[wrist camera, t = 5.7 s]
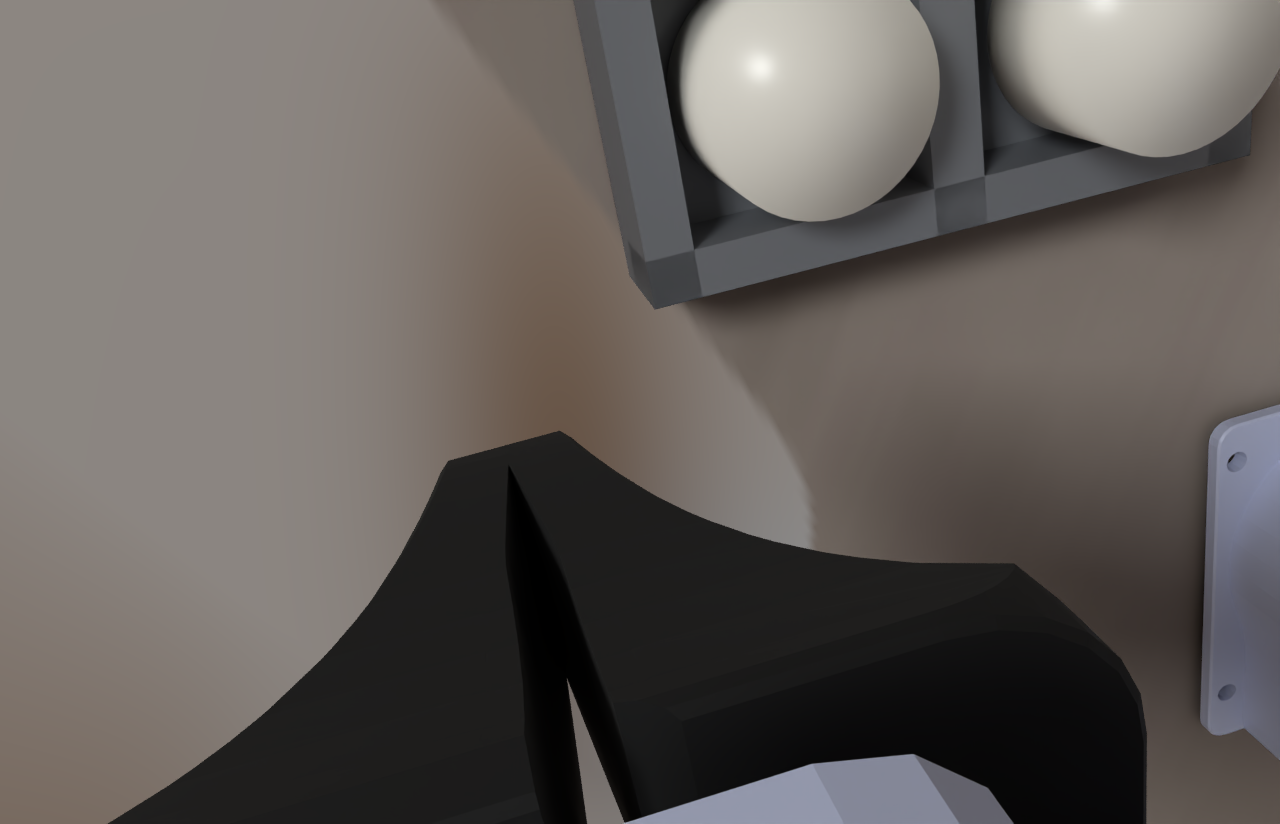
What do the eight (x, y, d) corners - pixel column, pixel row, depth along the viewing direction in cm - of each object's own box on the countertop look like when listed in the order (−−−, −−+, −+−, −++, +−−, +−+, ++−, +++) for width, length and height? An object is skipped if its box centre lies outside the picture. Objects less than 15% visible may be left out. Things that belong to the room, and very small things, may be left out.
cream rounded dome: (1188, 105, 21) (1290, 126, 19) (993, 154, 21) (1072, 182, 18) (1193, -126, 19) (1305, -134, 17) (980, -79, 19) (1066, -80, 17)
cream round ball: (885, 163, 22) (948, 190, 19) (687, 212, 21) (727, 246, 19) (864, -59, 20) (930, -58, 18) (648, -11, 19) (685, -4, 17)
